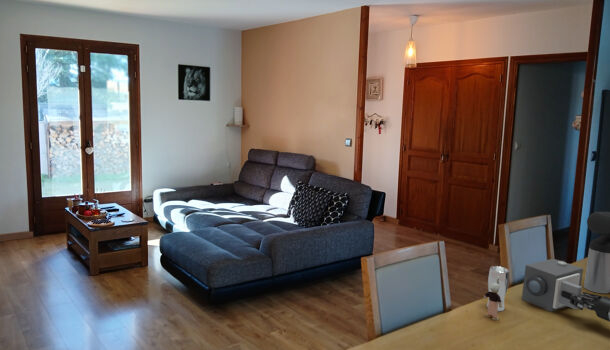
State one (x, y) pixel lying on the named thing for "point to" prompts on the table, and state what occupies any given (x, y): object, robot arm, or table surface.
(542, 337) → the table surface
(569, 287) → the side door
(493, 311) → the grandmother figurine
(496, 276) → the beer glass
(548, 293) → the box
